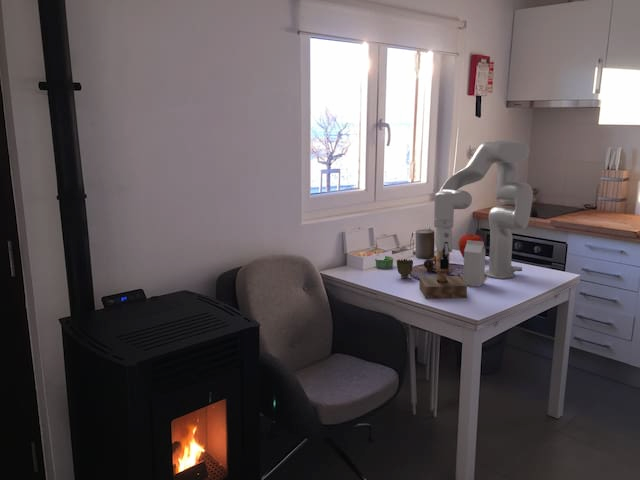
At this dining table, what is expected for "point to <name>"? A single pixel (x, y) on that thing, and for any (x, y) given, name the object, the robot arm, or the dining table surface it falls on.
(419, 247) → the pillar candle
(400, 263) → the dark rounded textured piece
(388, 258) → the ramekin
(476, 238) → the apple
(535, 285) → the dining table surface
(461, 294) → the walnut block
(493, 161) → the robot arm
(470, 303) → the dining table surface
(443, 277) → the oak peg
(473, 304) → the dining table surface
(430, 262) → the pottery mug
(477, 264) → the milk carton
